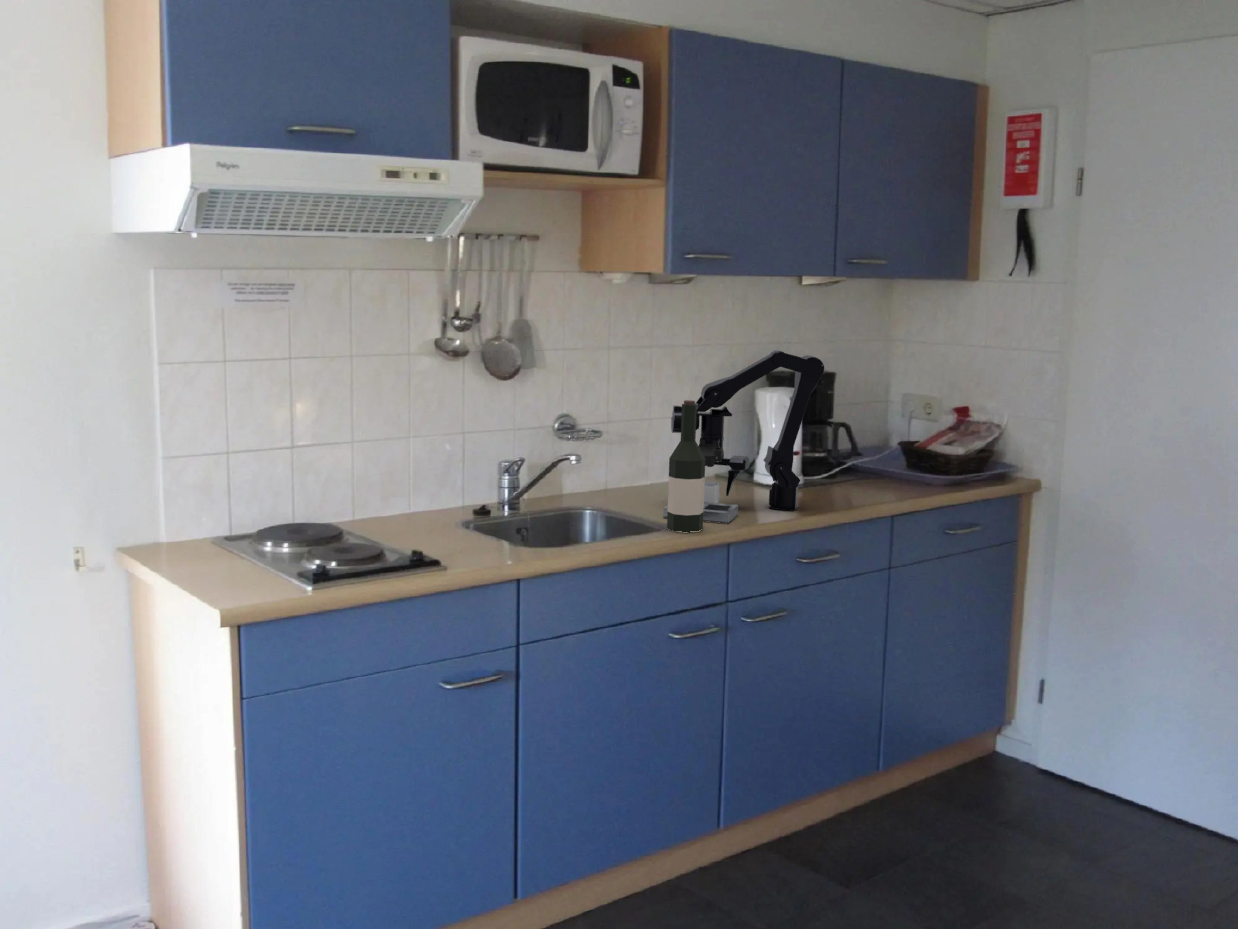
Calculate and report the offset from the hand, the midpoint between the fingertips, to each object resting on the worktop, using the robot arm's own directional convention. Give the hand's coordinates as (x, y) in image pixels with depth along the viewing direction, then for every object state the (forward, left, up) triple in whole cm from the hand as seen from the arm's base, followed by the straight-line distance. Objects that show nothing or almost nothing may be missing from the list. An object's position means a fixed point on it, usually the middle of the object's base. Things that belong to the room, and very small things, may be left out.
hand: (709, 494), depth 309 cm
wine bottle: (-1, +28, -4) cm, 28 cm away
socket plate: (-1, +13, -3) cm, 13 cm away
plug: (0, 0, -3) cm, 3 cm away
